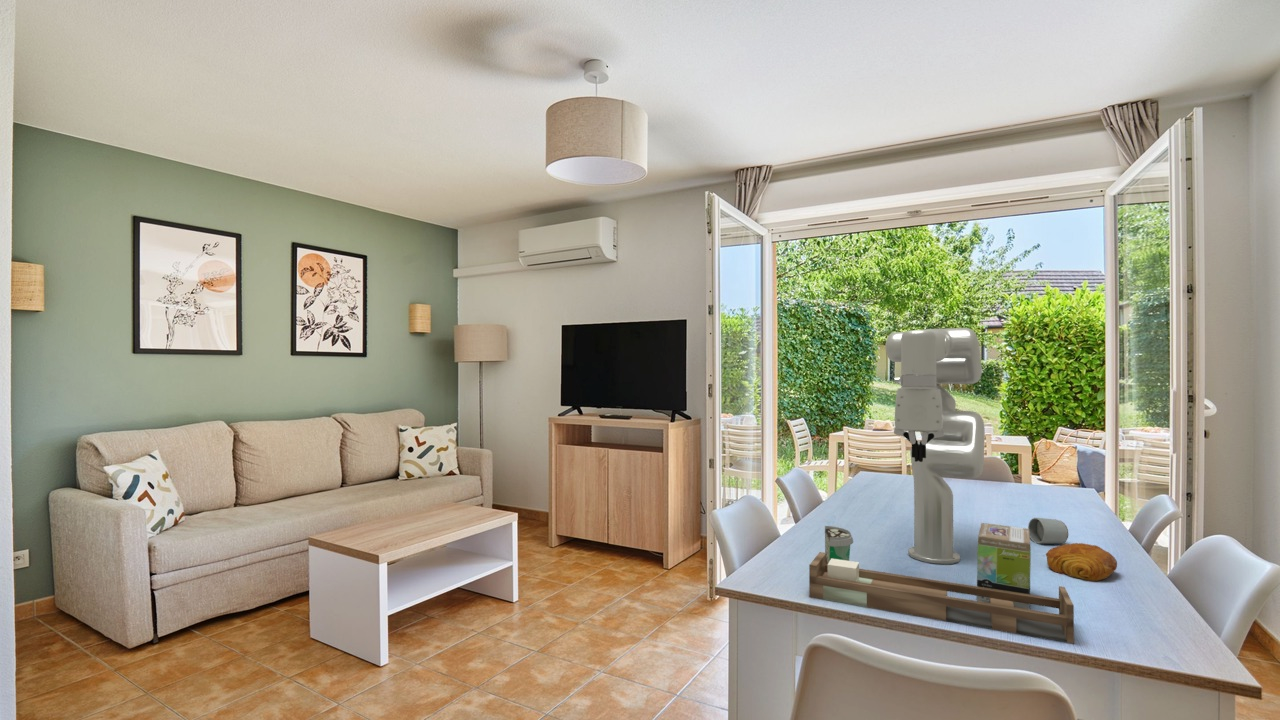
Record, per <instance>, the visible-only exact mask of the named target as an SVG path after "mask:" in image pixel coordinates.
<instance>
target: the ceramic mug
mask: <svg viewBox="0 0 1280 720" xmlns="http://www.w3.org/2000/svg"><path fill="white" fill-rule="evenodd" d="M1027 529H1029V532H1030V540H1031V541H1032V542H1033V543H1035V544H1038V545H1040V544H1041V545H1053V544H1054V545H1060V544H1061V545H1062V544H1065V543H1066V542H1067V541H1068V538H1069V529H1068V527H1067V525H1066V524H1065V522H1064V521H1062V520H1059V519H1055V518H1043V517H1032V518H1031V519H1030V521H1029V522H1028V527H1027Z"/></svg>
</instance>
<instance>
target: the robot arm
mask: <svg viewBox="0 0 1280 720" xmlns="http://www.w3.org/2000/svg"><path fill="white" fill-rule="evenodd" d="M884 349H885V353H886V356H887V358H888V359H889V360H890V361H891V362H893V363H900V368H901V369H900V374H901V375H899V376H898V377H894V384H898V385H900V387H901V388H897V390H896V395H895V403H894V404H895V405H894V426H895V427H894V431H893V433H894V435H896V436H900V437H903V438H905V439H906V440H907V441H908V442H909V443H910V444H911V446H910V453H909V454H910V455H909V456H910V463H911V468H912V475H913V477H912V478H913V505H914V506H913V507H914V508H913V515H914V516H913V518H914V519H913V522H914V523H913V525H914V526H913V529H914V531H913V532H914V533H913V535H914V537H913V538H914V541H913V542H914V543H913V545H914V546H913V547H909V548H908V550H907V554H908V556H909V557H911V558H913V559H915V560H918V561H921V562H924V563H925V562H926V563H932V564H936V565H937V564H938V565H940V564H941V565H947V564H948V565H953V564H956V563H959V562H960V561H961V556H960V554H959V553H958V552H956V551H954V493H953V490H952V488H951V487H950V486H949V484H948V483H947V482H946V481H945V478H943V477H951V478H960V479H961V478H962V479H977V478H978V477H980V476H981V475H982V473H983V471H984V465H985V438H986V437H985V431H986V429H985V421H984V419H983V418H982V415H980V414H979V413H977V412H975V411H971V410H956V405H957V403H956V402H957V401H956V399H955V398H954V396H953V395H952V394H951V393H950V392H949V391H948V390H947V389H946V388H944V387H943V386H941V385H945V384H947V385H972V384H973V385H974V384H976V383H978V382H979V381H980V380H981V377H982V373H983V368H982V367H983V366H982V357H981V348H980V342H979V338H978V336H977V334H976V331H974V330H973V329H971V328H969V327H952V328H950V327H949V328H926V329H912V330H906V331H898V332H897V331H896V332H895V331H894V332H893V331H892V332H891V333H890V334H889V335H888V336H887V338H886V342H885V348H884ZM916 432H920V436H921V440H917V435H916Z"/></svg>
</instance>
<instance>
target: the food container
mask: <svg viewBox="0 0 1280 720" xmlns="http://www.w3.org/2000/svg"><path fill="white" fill-rule="evenodd" d="M853 543H854V539H853V535H852V532H851V531H850V530H848V529H846V528H842V527H839V526H832V525H824V550H825V552H824V553H826V564H828V563H829V561H830V560H831V558H832V559H839V560H846V561H850V556H851V555H850V552H851V545H852V544H853Z"/></svg>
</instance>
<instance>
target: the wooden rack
mask: <svg viewBox="0 0 1280 720" xmlns="http://www.w3.org/2000/svg"><path fill="white" fill-rule="evenodd" d="M808 569H809V571H808V572H809V573H808V574H809V575H808V579H809V580H808V582H809V585H808V586H809V587H808V589H809V592H808V593H809V595H808V596H809V597H808V598H813V599H818V600H824V601H825V600H826V601H832V602H836V603H842V604H848V605H854V606H858V607H863V608H869V609H870V608H871V609H874V610H875V609H876V610H882V611H887V612H891V613H892V612H893V613H898V614H904V615H910V616H915V617H920V618H926V619H932V620H938V621H944V622H949V623H955V624H960V625H966V626H971V627H977V628H983V629H988V630H994V631H1001V632H1005V633H1009V634H1010V633H1011V634H1015V635H1022V636H1026V637H1033V638H1039V639H1043V640H1044V639H1045V640H1049V641H1053V642H1054V641H1055V642H1060V643H1061V642H1062V643H1066V644H1072V645H1074V644H1075V623H1074V622H1075V621H1074V620H1075V618H1074V617H1075V616H1074V615H1075V614H1074V613H1075V609H1074V608H1075V607H1074V604H1073V601H1072V599H1071V597H1070V594H1069V593H1068V591H1067V589H1066V587H1065V586H1060V585H1058V598H1057V597H1050V596H1043V595H1036V594H1031V593H1030V594H1024V593H1018V592H1011V591H1004V590H998V589H991V588H984V587H978V586H977V585H970V584H964V583H957V582H950V581H944V580H938V579H930V578H925V577H924V578H923V577H916V576H910V575H904V574H897V573H890V572H884V571H876V570H870V569H863V568H859V581H858V582H855V581H849V580H843V579H836V578H830V577H828V564H826V553H825V552H821V551H820V552H819V553H818V554H817V555H815V558H814V559H813V560H812V561H811V562H810V564H809V567H808ZM948 592H949V593H950V592H952V593H957V594H962V595H963V594H964V595H970V596H976V597H977V596H982V597H988V598H990V603H986V602H980V601H977V600H973V599H967V598H960V597H954V596H948ZM1013 601H1014V602H1020V603H1026V604H1030V605H1034V606H1041V607H1047V608H1051V609H1052V608H1053V609H1058V613H1053V612H1047V611H1041V610H1035V609H1030V610H1029V609H1023V608H1017V607H1014V605H1013Z"/></svg>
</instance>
